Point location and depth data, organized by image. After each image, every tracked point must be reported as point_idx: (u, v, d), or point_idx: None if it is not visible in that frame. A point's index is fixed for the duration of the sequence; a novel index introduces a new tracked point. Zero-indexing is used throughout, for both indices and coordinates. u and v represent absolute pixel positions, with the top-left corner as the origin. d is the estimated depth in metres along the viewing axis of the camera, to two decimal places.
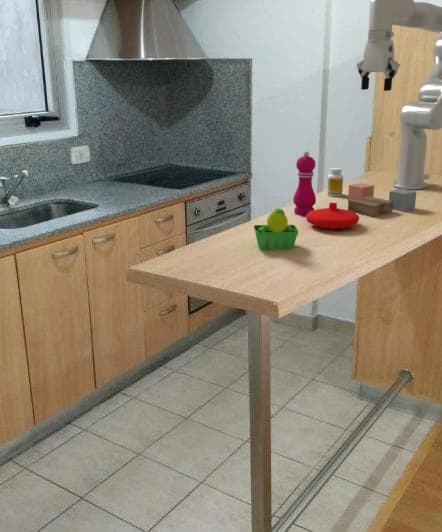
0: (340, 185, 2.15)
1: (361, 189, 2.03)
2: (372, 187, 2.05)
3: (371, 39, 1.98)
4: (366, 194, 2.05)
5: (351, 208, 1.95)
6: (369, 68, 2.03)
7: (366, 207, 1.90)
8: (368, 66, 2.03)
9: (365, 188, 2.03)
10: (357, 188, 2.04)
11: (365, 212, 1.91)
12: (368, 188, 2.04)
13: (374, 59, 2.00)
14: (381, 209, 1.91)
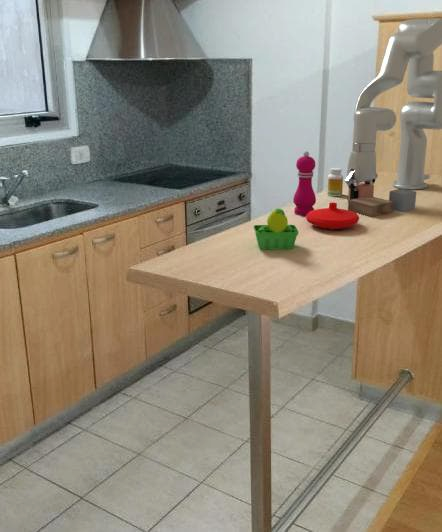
0: (340, 185, 2.15)
1: (361, 189, 2.03)
2: (372, 187, 2.05)
3: (371, 151, 1.99)
4: (366, 194, 2.05)
5: (351, 208, 1.95)
6: (363, 178, 2.03)
7: (365, 207, 1.90)
8: (362, 177, 2.02)
9: (365, 188, 2.03)
10: None
11: (364, 212, 1.91)
12: (368, 188, 2.04)
13: (369, 169, 2.03)
14: (380, 209, 1.91)
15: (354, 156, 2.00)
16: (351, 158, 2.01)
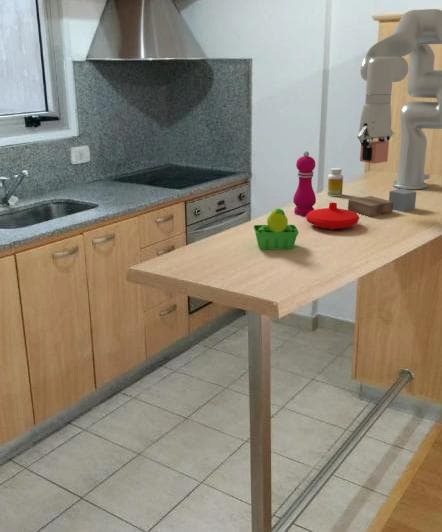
0: (340, 185, 2.15)
1: (375, 145, 1.84)
2: (387, 144, 1.87)
3: (387, 103, 1.81)
4: (381, 152, 1.86)
5: (351, 208, 1.95)
6: (377, 134, 1.84)
7: (364, 207, 1.90)
8: (376, 133, 1.84)
9: (379, 144, 1.85)
10: None
11: (363, 212, 1.91)
12: (382, 145, 1.86)
13: (383, 124, 1.84)
14: (380, 209, 1.90)
15: (368, 108, 1.82)
16: (364, 111, 1.83)
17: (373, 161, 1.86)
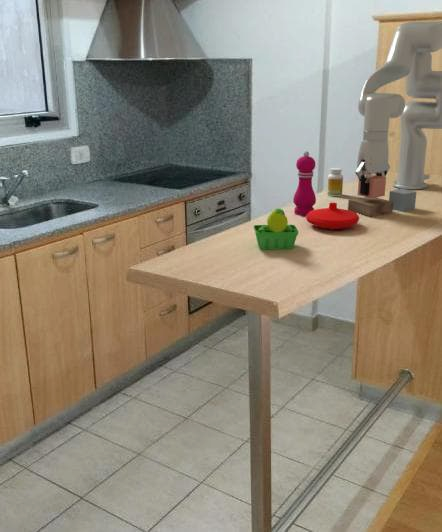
0: (340, 185, 2.15)
1: (372, 181, 1.88)
2: (384, 179, 1.91)
3: (384, 140, 1.85)
4: (378, 187, 1.90)
5: (351, 208, 1.96)
6: (375, 170, 1.88)
7: (364, 207, 1.90)
8: (374, 168, 1.88)
9: (377, 180, 1.89)
10: None
11: (363, 211, 1.91)
12: (380, 180, 1.90)
13: (380, 160, 1.88)
14: (380, 209, 1.90)
15: (365, 145, 1.85)
16: (362, 148, 1.86)
17: (371, 196, 1.90)
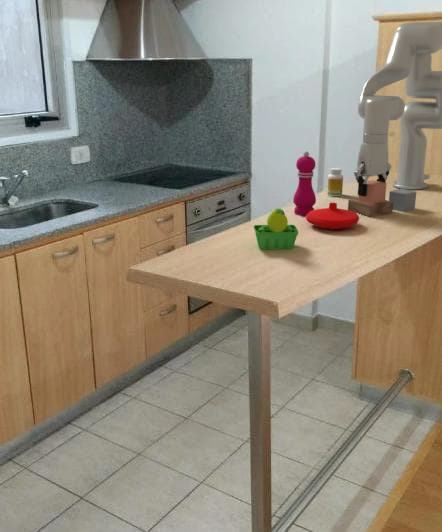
0: (340, 185, 2.15)
1: (373, 187, 1.89)
2: (384, 185, 1.91)
3: (384, 143, 1.85)
4: (379, 192, 1.91)
5: (350, 208, 1.96)
6: (374, 172, 1.88)
7: (363, 207, 1.90)
8: (373, 171, 1.88)
9: (377, 186, 1.89)
10: (368, 186, 1.90)
11: (362, 212, 1.91)
12: (380, 186, 1.90)
13: (380, 162, 1.88)
14: (379, 209, 1.90)
15: (365, 147, 1.86)
16: (361, 150, 1.87)
17: (371, 202, 1.91)
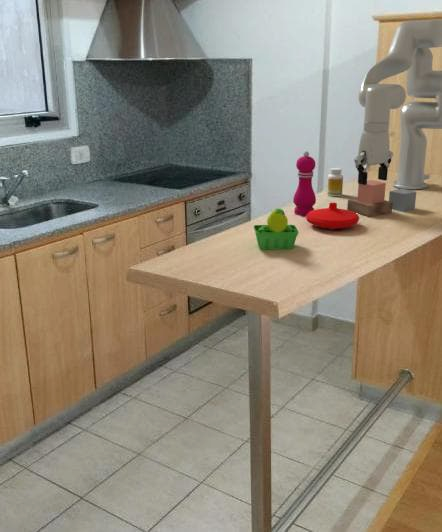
0: (340, 185, 2.15)
1: (372, 187, 1.89)
2: (384, 185, 1.91)
3: (385, 131, 1.84)
4: (378, 193, 1.91)
5: (350, 208, 1.96)
6: (375, 161, 1.87)
7: (363, 207, 1.90)
8: (374, 160, 1.87)
9: (376, 186, 1.89)
10: (367, 186, 1.90)
11: (362, 212, 1.91)
12: (379, 186, 1.90)
13: (381, 151, 1.87)
14: (379, 209, 1.90)
15: (366, 136, 1.85)
16: (362, 139, 1.86)
17: (370, 202, 1.90)
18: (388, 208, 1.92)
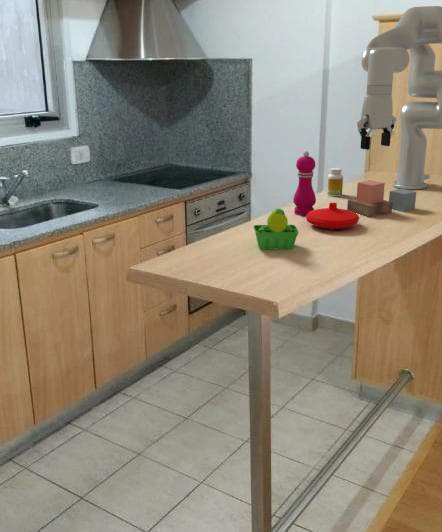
0: (340, 185, 2.15)
1: (371, 187, 1.89)
2: (383, 185, 1.91)
3: (388, 94, 1.81)
4: (377, 193, 1.91)
5: (350, 208, 1.96)
6: (378, 125, 1.85)
7: (363, 207, 1.90)
8: (377, 124, 1.84)
9: (375, 186, 1.89)
10: (367, 186, 1.90)
11: (362, 212, 1.91)
12: (378, 186, 1.90)
13: (384, 115, 1.85)
14: (379, 209, 1.90)
15: (369, 99, 1.82)
16: (365, 102, 1.83)
17: (369, 202, 1.90)
18: (388, 208, 1.92)
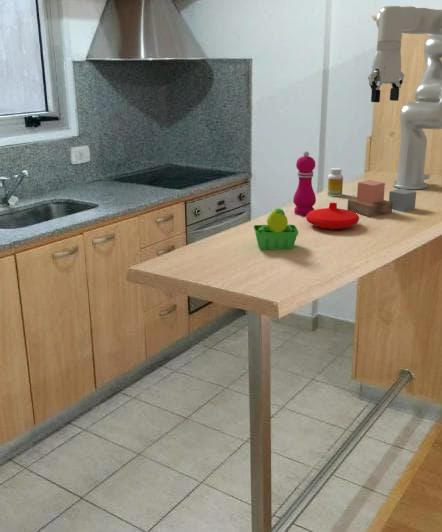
0: (340, 185, 2.15)
1: (372, 187, 1.89)
2: (383, 184, 1.92)
3: (397, 50, 1.94)
4: (377, 192, 1.91)
5: (350, 208, 1.96)
6: (388, 79, 1.97)
7: (363, 207, 1.90)
8: (387, 78, 1.97)
9: (376, 186, 1.89)
10: (367, 186, 1.90)
11: (362, 212, 1.91)
12: (379, 186, 1.90)
13: (394, 70, 1.97)
14: (379, 209, 1.90)
15: (379, 55, 1.94)
16: (376, 58, 1.96)
17: (370, 202, 1.90)
18: (388, 208, 1.92)
